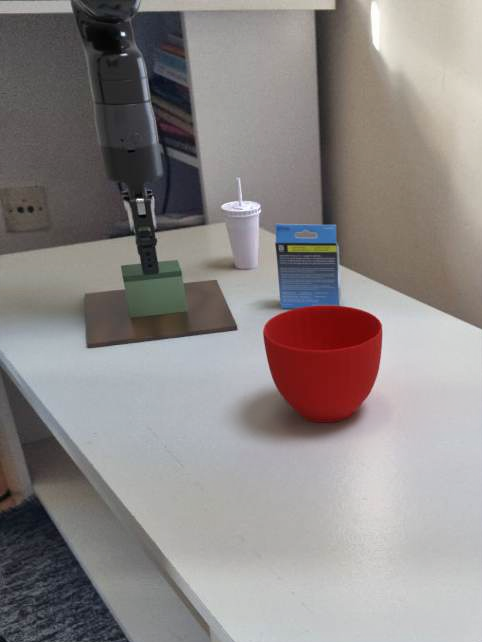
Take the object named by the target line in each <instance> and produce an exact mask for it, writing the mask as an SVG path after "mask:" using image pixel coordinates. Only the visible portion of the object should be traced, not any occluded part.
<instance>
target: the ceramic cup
mask: <svg viewBox="0 0 482 642" xmlns="http://www.w3.org/2000/svg"><path fill="white" fill-rule="evenodd" d="M262 337H263V344H264V350H265V355H266V360H267V364H268V369H269V372H270V376H271V378H272V382H273V383H274V386H275V388H276V389H277V391H278V393H279V394H280V396H282V398H283V399H284V401H285V402H286V403H287V404H288V405H289V407H291V408H292V409H293V410H294V411H296V412H297V413H298V414H299V415H300V416H301V417H302V418H304V419H305V420H308V421H311V422H315V423H335V422H340V421H344V420H345V419H348V418H350V417H351V416H353V414H354V413H355V412H356V410H357V409H359V408H360V406H361V405H362V404H363V403H364V402H365V401H366V399H367V398H368V397H369V396H370V393H371V392H372V390H373V388H374V385H375V382H376V380H377V378H378V375H379V371H380V366H381V359H382V349H383V324H382V323H381V321H380V319H379V318H378V317H377V316H376V315H374V314H372V313H370V312H369V311H367V310H363V309H359V308H355V307H351V306H345V305H340V306H333V305H321V306H308V307H302V308H297V309H288V310H286V311H284V312H280V313H279V314H276V315H274V316H272V317H271V318H270V319H269V320H267V322H266V323H265V324H264V325H263V329H262Z"/></svg>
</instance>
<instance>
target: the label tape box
mask: <svg viewBox="0 0 482 642" xmlns="http://www.w3.org/2000/svg"><path fill="white" fill-rule="evenodd" d="M274 231H275V232H274V234H275V243H274V244H275V245H274V248H275V254H276V265H277V266H276V267H277V278H278V279H277V280H278V291H279V303H280V308H281V309H284V310H285V309H287V310H293V309H297V308H302V307H308V306H321V305H333V306H341V300H342V299H341V297H342V296H341V295H342V292H341V291H342V289H341V267H340V266H341V263H340V247H339V243H338V242H337V224H310V223H309V224H307V223H306V224H303V223H274ZM304 232H307V233H308V234H314V235H315V237H301V236H300V237H298V236H296V234H303V233H304Z"/></svg>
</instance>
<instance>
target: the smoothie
mask: <svg viewBox="0 0 482 642" xmlns="http://www.w3.org/2000/svg"><path fill="white" fill-rule="evenodd" d="M235 180H236V188H237V189H236V190H237V199H238V200H235V201H229V202H226V203H224V204H222V205H221V206H220V211H221V212H220V214H221V215H222V216H223V218H224V223H225V227H226V232H227V237H228V239H229V244H230V249H231V252H232V253H231V254H232V257H233V261H234V265H235V268H236V269H239V270H252V269H255V268H257V267H258V266H259V237H260V236H259V232H260V214H261V213H262V209H261V204H260V203H259V202H256V201H252V200H243V195H242V185H241V178H240V177H236V179H235Z"/></svg>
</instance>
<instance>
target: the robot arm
mask: <svg viewBox="0 0 482 642" xmlns="http://www.w3.org/2000/svg"><path fill="white" fill-rule="evenodd" d="M69 2H70V7H71V10H72V14H73V18H74V22H75V25H76V28H77V33H78V35H79V39H80V42H81V45H82V49H83V51H84V54H85V59H86V65H87V74H88V80H89V86H90V91H91V96H92V101H93V109H94V110H93V113H94V124H95V131H96V135H97V142H98V147H99V153H100V157H101V162H102V163H101V164H102V168H103V175H104V177H105V179H106V180H108V181H109V182H111V183H115V184H122V183H123V184H125V191H121V196H122V202H123V206H124V210H125V211H126V216H127V219H128V225H129V228H130V231H131V232H133V233H134V237H135V240H134V241H135V246H136V250H137V254H138V256H139V259H140V264H141V266H142V272H143V274H145V275H152V274H158V273H159V267H158V262H159V261H158V254H157V249H156V248H157V244H158V238H157V237H156V231H155V230H156V229H157V220H156V214H155V207H156V206H155V205H156V204H155V198H154V194H153V190H152V189H147V186H146V185H147V182H155V181H157V180H159V179H161V178H162V177H163V175H164V169H163V163H162V154H161V148H160V142H159V134H158V133H159V132H158V127H157V120H156V115H155V112H154V108H153V105H152V100H151V92H150V85H149V78H148V72H147V66H146V62H145V59H144V57H143V53H142V52H141V51H140V49H139V48H138V46H137V44H136V41H135V40H136V39H135V35H134V30H133V25H132V19H133V18H134V17H135V16H136V15H137V13H138V12H139V10H140V7H141V3H142V0H70V1H69Z"/></svg>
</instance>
